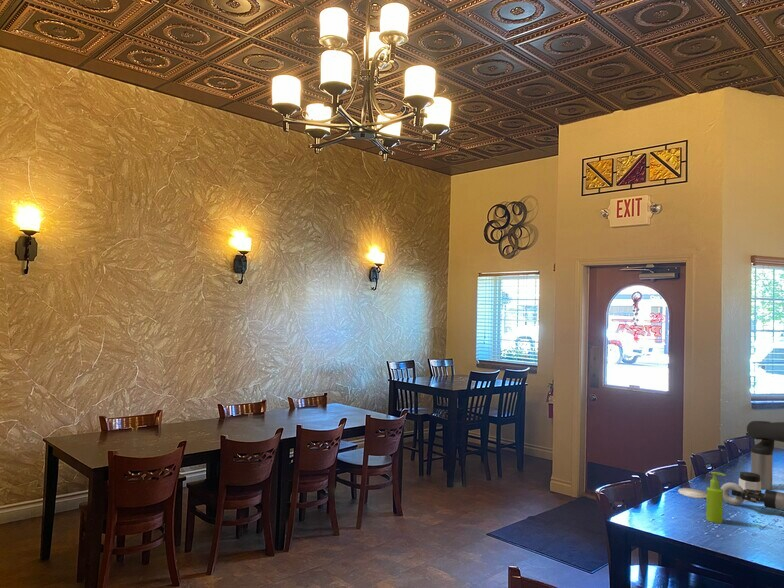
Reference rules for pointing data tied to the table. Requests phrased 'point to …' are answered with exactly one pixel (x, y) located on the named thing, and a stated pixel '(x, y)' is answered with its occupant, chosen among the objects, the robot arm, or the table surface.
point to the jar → (749, 481)
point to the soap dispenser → (714, 500)
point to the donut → (727, 497)
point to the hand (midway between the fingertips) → (733, 491)
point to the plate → (693, 493)
